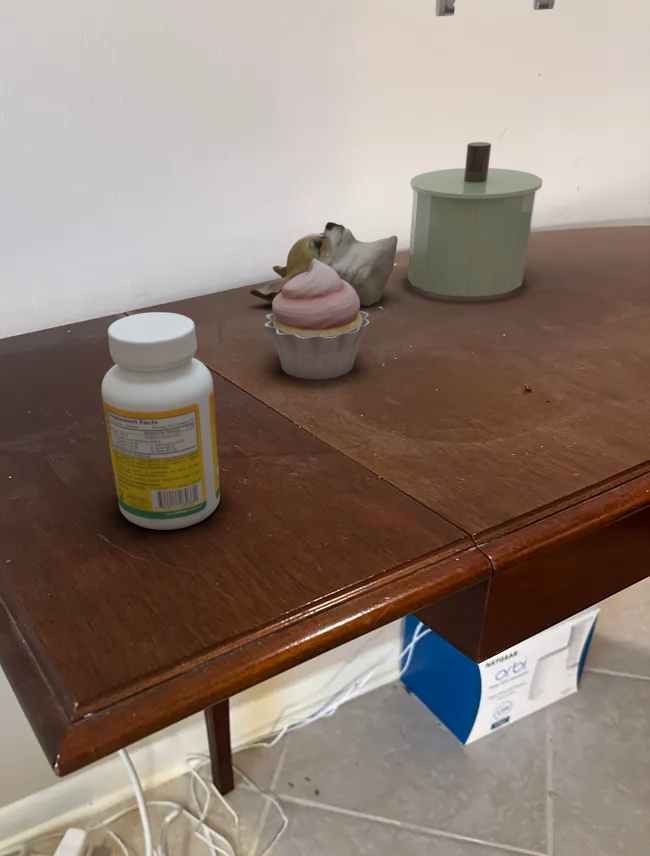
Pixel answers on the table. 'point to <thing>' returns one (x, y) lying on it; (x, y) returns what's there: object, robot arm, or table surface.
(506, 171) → the canister lid
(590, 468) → the table surface
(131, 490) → the supplement bottle
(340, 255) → the ceramic sculpture
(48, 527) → the table surface
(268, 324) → the cupcake
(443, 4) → the robot arm
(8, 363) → the table surface
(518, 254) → the canister
